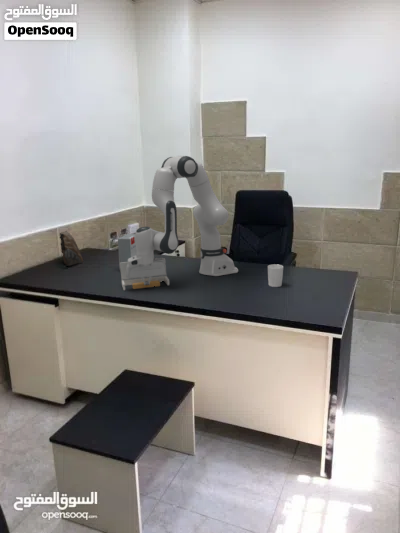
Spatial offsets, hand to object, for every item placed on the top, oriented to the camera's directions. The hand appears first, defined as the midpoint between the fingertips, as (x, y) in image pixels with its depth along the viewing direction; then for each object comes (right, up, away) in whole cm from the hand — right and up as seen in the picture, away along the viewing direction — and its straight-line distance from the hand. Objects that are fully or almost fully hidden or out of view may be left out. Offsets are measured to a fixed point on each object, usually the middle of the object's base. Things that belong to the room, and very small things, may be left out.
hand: (146, 284), depth 217 cm
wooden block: (-1, -1, +3) cm, 3 cm away
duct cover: (-2, +8, +6) cm, 10 cm away
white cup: (+66, 0, 0) cm, 66 cm away
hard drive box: (-15, +8, +37) cm, 40 cm away
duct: (-1, -1, +4) cm, 4 cm away
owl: (-55, +12, +53) cm, 77 cm away
